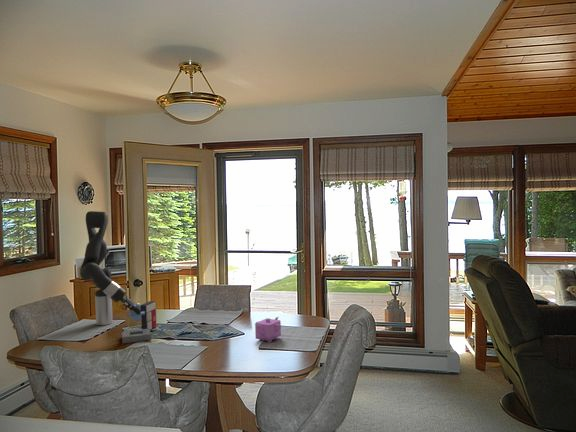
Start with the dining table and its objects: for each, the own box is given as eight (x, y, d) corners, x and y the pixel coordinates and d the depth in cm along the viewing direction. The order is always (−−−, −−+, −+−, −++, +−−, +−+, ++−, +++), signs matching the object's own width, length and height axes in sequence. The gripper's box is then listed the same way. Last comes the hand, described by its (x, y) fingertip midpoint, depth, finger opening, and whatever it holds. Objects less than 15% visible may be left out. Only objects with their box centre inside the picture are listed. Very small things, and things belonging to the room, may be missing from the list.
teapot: (283, 343, 224) (283, 321, 223) (256, 345, 221) (256, 323, 221) (279, 334, 239) (278, 314, 238) (254, 336, 236) (253, 316, 236)
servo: (127, 320, 238) (126, 303, 238) (144, 318, 241) (144, 302, 241) (126, 321, 234) (126, 305, 234) (144, 320, 237) (144, 303, 237)
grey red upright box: (147, 332, 250) (146, 305, 249) (140, 331, 251) (139, 305, 250) (157, 326, 260) (156, 301, 260) (150, 326, 261) (149, 301, 261)
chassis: (122, 337, 242) (122, 331, 241) (149, 333, 246) (149, 328, 246) (122, 343, 230) (122, 337, 230) (150, 339, 235) (150, 334, 235)
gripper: (119, 288, 228) (145, 309, 233) (120, 284, 242) (144, 304, 246) (108, 299, 227) (134, 320, 231) (109, 294, 240) (134, 314, 244)
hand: (139, 312), depth 238 cm, fingers closed on servo, 4 cm apart
